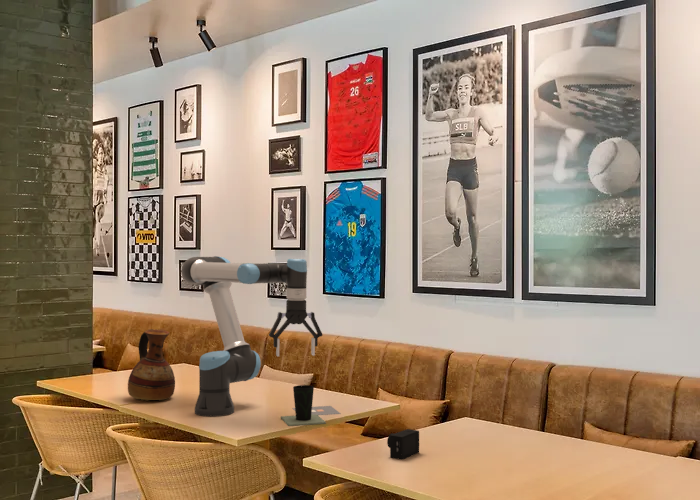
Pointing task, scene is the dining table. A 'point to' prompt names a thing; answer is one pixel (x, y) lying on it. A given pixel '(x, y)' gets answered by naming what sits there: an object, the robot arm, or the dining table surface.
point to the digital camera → (403, 444)
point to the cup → (303, 401)
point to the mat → (293, 422)
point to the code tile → (323, 410)
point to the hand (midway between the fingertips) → (295, 355)
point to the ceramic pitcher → (152, 369)
